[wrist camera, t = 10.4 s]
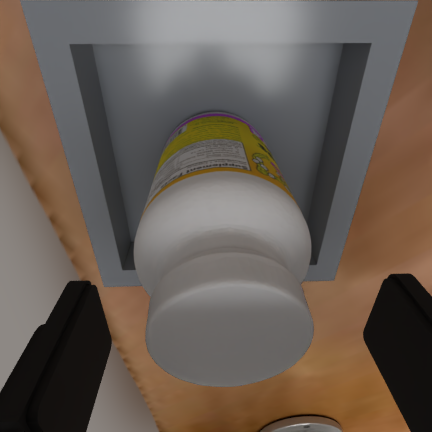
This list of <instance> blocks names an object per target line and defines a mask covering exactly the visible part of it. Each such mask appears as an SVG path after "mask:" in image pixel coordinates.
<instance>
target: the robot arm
mask: <svg viewBox="0 0 432 432" xmlns="http://www.w3.org/2000/svg"><path fill="white" fill-rule="evenodd" d="M363 337H364V341H365V343H366V345H367V347H368V349H369V351H370V353H371V355H372V357H373V359H374V361H375V363H376V365H377V367H378V369H379V371H380V373H381V375H382V376H383V378H384V380H385V382H386V384H387V386H388V388H389V390H390V392H391V394H392V396H393V398H394V400H395V402H396V404H397V406H398V408H399V410H400V412H401V414H402V415H403V417H404V419H405V421H406V423H407V425H408V427H409V429H410V431H411V432H432V297H431V295H430V294H429V293H428V292H427V291H426V290H425V288H424V287H423V286H422V285H421V284H420V282H419V281H418V280H417V279H416V278H415V277H414V276H413V275H412V274H390V275H389V276H388V278H387V279H384V281H383V283H382V285H381V288H380V290H379V293H378V295H377V298H376V301H375V303H374V306H373V308H372V311H371V313H370V316H369V318H368V321H367V323H366V326H365V328H364V331H363ZM111 344H112V339H111V335H110V331H109V328H108V324H107V321H106V318H105V314H104V311H103V307H102V304H101V300H100V297H99V293H98V290H97V287H96V286H95V285H91V282H90V281H70V282H69V283H68V284H67V285H66V287H65V289H64V290H63V292H62V294H61V296H60V298H59V300H58V301H57V303H56V305H55V307H54V309H53V310H52V312H51V314H50V316H49V318H48V320H47V321H46V324H43V325H41V326H39V327H38V328H37V330H36V331H35V332H34V334H33V336H32V338H31V339H30V341H29V343H28V345H27V346H26V348H25V350H24V352H23V353H22V355H21V357H20V359H19V360H18V362H17V364H16V366H15V367H14V369H13V371H12V373H11V375H10V376H9V378H8V380H7V382H6V383H5V385H4V387H3V389H2V390H1V392H0V432H86V430H87V426H88V423H89V420H90V417H91V413H92V410H93V407H94V403H95V400H96V397H97V393H98V390H99V386H100V383H101V380H102V376H103V373H104V370H105V367H106V363H107V359H108V357H109V353H110V350H111ZM260 432H343V431H342V428H341V426H340V425H339V424H338V423H337V422H335V421H333V420H331V419H328V418H324V417H318V416H301V417H293V418H288V419H284V420H280V421H277V422H275V423H272V424H270V425H268V426H267V427H265V428H264V429H262V430H261V431H260Z"/></svg>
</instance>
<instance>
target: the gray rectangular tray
mask: <svg viewBox="0 0 432 432" xmlns="http://www.w3.org/2000/svg"><path fill="white" fill-rule="evenodd" d="M20 1H21V5H22V8H23V12H24V15H25V19H26V22H27V25H28V29H29V32H30V36H31V39H32V42H33V46H34V49H35V53H36V56H37V60H38V63H39V66H40V70H41V73H42V77H43V80H44V83H45V87H46V90H47V94H48V97H49V100H50V104H51V107H52V111H53V114H54V118H55V121H56V124H57V128H58V131H59V135H60V138H61V141H62V145H63V148H64V152H65V155H66V158H67V162H68V165H69V169H70V172H71V176H72V179H73V182H74V186H75V189H76V193H77V196H78V199H79V203H80V206H81V210H82V213H83V217H84V220H85V223H86V227H87V230H88V234H89V237H90V240H91V244H92V247H93V251H94V254H95V257H96V261H97V264H98V268H99V271H100V275H101V278H102V281H103V285H104V287H121V286H142V284H141V282H140V280H139V277H138V275H137V272H136V268H135V263H134V241H135V237H136V233H137V229H138V226H139V223H140V219H141V217H142V214H143V211H144V208H145V205H146V202H147V199H148V196H149V193H150V190H151V186H152V183H153V180H154V177H155V174H156V170H157V167H158V164H159V161H160V158H161V154H162V152H163V149H164V146H165V144H166V142H167V140H168V138H169V137H170V135H171V134H172V133H173V131H174V130H175V129H176V128H177V127H178V126H179V125H180V124H181V123H183V122H184V121H186V120H187V119H189V118H191V117H193V116H196V115H199V114H203V113H207V112H225V113H229V114H233V115H236V116H238V117H241V118H242V119H244V120H246V121H247V122H249V123H250V124H251V125H252V126H253V127H254V128H255V129H256V130H257V131H258V132H259V133H260V135H261V136H262V138H263V139H264V141H265V143H266V145H267V146H268V148H269V150H270V152H271V154H272V156H273V158H274V160H275V162H276V164H277V166H278V168H279V170H280V172H281V174H282V175H283V177H284V180H285V182H286V184H287V185H288V187H289V189H290V191H291V193H292V195H293V197H294V199H295V201H296V203H297V205H298V207H299V208H300V210H301V212H302V214H303V217H304V219H305V221H306V223H307V226H308V229H309V233H310V238H311V259H310V264H309V268H308V271H307V273H306V276H305V278H304V280H303V281H332V280H334V279H335V275H336V272H337V269H338V265H339V262H340V259H341V255H342V252H343V249H344V245H345V242H346V239H347V235H348V232H349V229H350V225H351V222H352V219H353V215H354V212H355V209H356V205H357V202H358V199H359V196H360V192H361V189H362V186H363V182H364V179H365V176H366V172H367V169H368V166H369V162H370V159H371V156H372V152H373V149H374V146H375V142H376V139H377V136H378V132H379V129H380V126H381V122H382V119H383V116H384V112H385V109H386V106H387V103H388V99H389V96H390V93H391V89H392V86H393V83H394V79H395V76H396V73H397V69H398V66H399V63H400V59H401V56H402V53H403V49H404V46H405V43H406V39H407V36H408V33H409V29H410V26H411V23H412V20H413V16H414V13H415V10H416V6H417V3H418V1H205V0H20Z"/></svg>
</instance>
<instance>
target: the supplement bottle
mask: <svg viewBox="0 0 432 432" xmlns="http://www.w3.org/2000/svg"><path fill="white" fill-rule="evenodd" d="M310 259H311V238H310V233H309V229H308V226H307V223H306V221H305V219H304V217H303V214H302V212H301V210H300V208H299V207H298V205H297V203H296V201H295V199H294V197H293V195H292V193H291V191H290V189H289V187H288V185H287V184H286V182H285V180H284V177H283V175H282V174H281V172H280V170H279V168H278V166H277V164H276V162H275V160H274V158H273V156H272V154H271V152H270V150H269V148H268V146H267V145H266V143H265V141H264V139H263V138H262V136H261V135H260V133H259V132H258V131H257V130H256V129H255V128H254V127H253V126H252V125H251V124H250V123H249V122H247V121H246V120H244V119H242V118H241V117H238V116H236V115H233V114H229V113H225V112H207V113H203V114H199V115H196V116H193V117H191V118H189V119H187V120H186V121H184V122H183V123H181V124H180V125H179V126H178V127H177V128H176V129H175V130H174V131H173V133H172V134H171V135H170V137H169V138H168V140H167V142H166V144H165V146H164V149H163V152H162V154H161V158H160V161H159V164H158V167H157V170H156V174H155V177H154V180H153V183H152V186H151V190H150V193H149V196H148V199H147V202H146V205H145V208H144V211H143V214H142V217H141V219H140V223H139V226H138V229H137V233H136V237H135V241H134V263H135V268H136V272H137V275H138V277H139V280H140V282H141V284H142V286H143V287H144V289H145V291H146V292H147V293H148V295H149V296H150V297H151V298H150V304H149V312H148V319H147V326H146V345H147V349H148V352H149V354H150V355H151V357H152V359H153V360H154V361H155V362H156V364H157V365H159V366H160V367H161V368H162V369H163V370H165V371H166V372H167V373H169V374H171V375H172V376H174V377H176V378H178V379H181V380H184V381H187V382H190V383H194V384H197V385H204V386H215V387H233V386H242V385H246V384H251V383H255V382H259V381H262V380H265V379H268V378H271V377H273V376H275V375H278V374H280V373H282V372H284V371H285V370H287V369H289V368H290V367H292V366H293V365H294V364H295V363H296V362H297V361H298V360H299V359H300V358H301V357H302V356H303V355H304V354H305V353H306V351H307V349H308V348H309V346H310V344H311V341H312V338H313V332H314V326H313V320H312V316H311V313H310V311H309V308H308V305H307V302H306V299H305V296H304V292H303V289H302V287H301V284H302V282H303V280H304V278H305V276H306V273H307V271H308V268H309V264H310Z"/></svg>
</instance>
